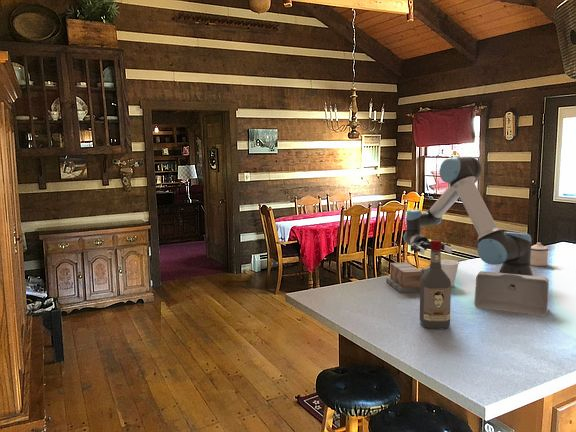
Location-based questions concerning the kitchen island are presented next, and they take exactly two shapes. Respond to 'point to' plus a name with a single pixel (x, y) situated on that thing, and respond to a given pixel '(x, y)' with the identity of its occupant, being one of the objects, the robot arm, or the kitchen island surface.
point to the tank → (512, 292)
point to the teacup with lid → (539, 255)
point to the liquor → (435, 292)
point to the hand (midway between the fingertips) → (437, 251)
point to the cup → (450, 269)
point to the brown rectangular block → (404, 277)
